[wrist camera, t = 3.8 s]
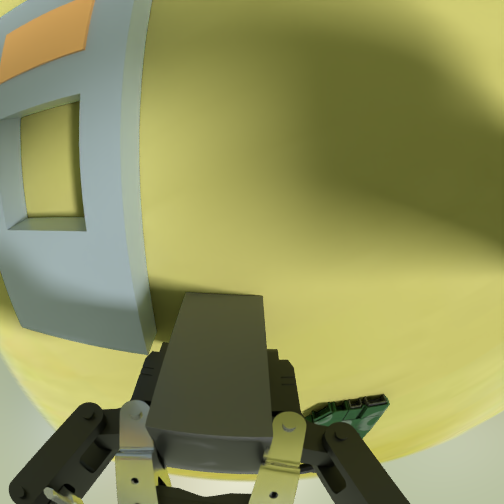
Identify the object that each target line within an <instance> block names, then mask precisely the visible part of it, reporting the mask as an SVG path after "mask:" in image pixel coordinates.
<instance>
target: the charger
mask: <svg viewBox="0 0 504 504" xmlns="http://www.w3.org/2000/svg"><path fill="white" fill-rule="evenodd" d="M145 427H146V429H147V431H148V433H149V435H150V437H153V439H154V440H155V443H156V448H157V450H158V452H159V453H160V455H161V457H164V459H165V461H166V465H167V467H172V468H179V469H186V470H194V471H203V472H215V473H231V474H258V472H259V469H260V466H261V462H262V459H263V456H264V452H265V449H266V447H271V443H272V440H273V426H272V412H271V398H270V384H269V371H268V358H267V345H266V332H265V319H264V307H263V296H250V295H228V294H210V293H193V292H186V293H185V296H184V299H183V302H182V305H181V308H180V311H179V314H178V317H177V320H176V323H175V326H174V329H173V332H172V335H171V338H170V341H169V344H168V348H167V351H166V354H165V357H164V361H163V364H162V367H161V370H160V374H159V377H158V381H157V384H156V387H155V391H154V394H153V398H152V401H151V405H150V409H149V412H148V416H147V420H146V424H145Z"/></svg>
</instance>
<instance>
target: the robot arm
mask: <svg viewBox="0 0 504 504" xmlns="http://www.w3.org/2000/svg"><path fill="white" fill-rule="evenodd" d="M168 344H169V343H167V342H163V343H162V346H161V349H160V352H154V351H152V352H151V353H150V354H149V355H148V356H147V357H146V359H145V362H144V364H143V368H142V370H141V373H140V375H139V378H138V381H137V384H136V387H135V390H134V392H133V395H132V398H131V400H130V401H128V402H126V403H125V404H124V405H123V406H122V407H121V408H118V409H105V410H102V409H101V408H100V406H98V405H97V404H95V403H91V402H88V403H84V404H82V405H80V406H79V407H78V408H77V409H76V410H75V411H74V412H73V413H72V414H71V415H70V417H69V418H68V419H67V420H66V421H65V422H64V423H63V424H62V425H61V426H60V427H59V429H58V430H57V431H56V432H55V433H54V434H53V435H52V436H51V437H50V439H49V440H48V441H47V442H46V443H45V444H44V445H43V446H42V447H41V449H40V450H39V451H38V452H37V453H36V454H35V455H34V456H33V458H32V459H31V460H30V461H29V462H28V463H27V464H26V466H25V467H24V468H23V469H22V470H21V471H20V472H19V473H18V475H17V476H16V477H15V478H14V479H13V480H12V482H11V483H10V485H9V494H10V496H11V498H12V500H13V501H14V502H15V503H16V504H84V503H83V501H82V500H81V499H82V498H83V496H84V495H85V494H86V492H87V491H88V490H89V489H90V487H91V486H92V485H93V483H94V482H95V481H96V479H97V478H98V477H99V476H100V474H101V473H102V472H103V470H104V469H105V468H106V466H107V465H108V464H109V462H110V461H111V460H112V459H113V457H114V456H115V468H116V486H117V498H118V504H293V503H294V498H295V494H296V490H297V484H298V480H299V475H300V467H299V465H300V463H305V464H310V465H312V467H313V468H314V470H315V472H316V473H317V475H318V477H319V478H320V480H321V482H322V483H323V485H324V487H325V488H326V490H327V492H328V493H329V495H330V496H331V498H332V500H333V501H334V503H335V504H410V503H409V501H408V500H407V499H406V498H405V496H404V495H403V494H402V492H401V491H400V490H399V488H398V487H397V486H396V484H395V483H394V482H393V480H392V479H391V478H390V476H389V475H388V474H387V472H386V471H385V469H384V468H383V467H382V465H381V464H380V463H379V461H378V460H377V459H376V457H375V456H374V455H373V453H372V452H371V450H370V449H369V448H368V446H367V445H366V444H365V442H364V441H363V439H362V438H361V437H360V435H359V434H358V433H357V431H356V430H355V428H354V427H353V426H352V425H350V424H348V423H345V422H335V423H333V424H331V425H329V426H323V425H318V424H314V423H311V422H309V421H308V420H306V419H305V418H304V417H303V415H302V413H301V410H300V404H299V398H298V392H297V385H296V379H295V373H294V368H293V366H292V365H291V363H290V362H289V361H288V360H279V357H278V350H277V349H267V358H268V371H269V384H270V398H271V412H272V426H273V440H272V443H271V447H266V449H265V452H264V456H263V459H262V462H261V466H260V469H259V472H258V475H257V479H256V482H255V485H254V489H253V491H252V494H233V493H230V494H225V495H218V496H209V497H202V496H199V495H196V494H193V493H191V492H188V491H185V490H182V489H180V488H173V487H171V482H170V479H169V476H168V472H167V466H166V461H165V459H164V457H161V455H160V453H159V452H158V450H157V448H156V443H155V440H154V439H153V437H150V435H149V433H148V431H147V429H146V427H145V424H146V420H147V416H148V412H149V409H150V405H151V401H152V398H153V394H154V391H155V387H156V384H157V381H158V377H159V374H160V370H161V367H162V364H163V361H164V357H165V354H166V351H167V348H168Z"/></svg>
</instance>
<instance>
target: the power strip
mask: <svg viewBox="0 0 504 504" xmlns="http://www.w3.org/2000/svg"><path fill="white" fill-rule="evenodd" d="M151 5H152V0H27V1H25V2H23V3H22V4H20V5H19V6H17V7H15V8H14V9H12V10H11V11H9V12H8V13H6V14H5V15H3V16H2V17H0V271H1V274H2V277H3V281H4V283H5V286H6V289H7V292H8V295H9V297H10V300H11V303H12V305H13V308H14V310H15V313H16V315H17V317H18V320H19V322H20V324H21V326H22V327H23V328H27V329H30V330H33V331H37V332H40V333H44V334H47V335H51V336H55V337H59V338H63V339H67V340H71V341H75V342H79V343H84V344H88V345H93V346H98V347H103V348H108V349H114V350H119V351H125V352H131V353H138V354H144V355H148V354H149V351H150V349H151V346H152V343H153V341H154V338H155V335H156V333H157V330H156V324H155V319H154V313H153V307H152V301H151V295H150V288H149V281H148V273H147V266H146V257H145V248H144V238H143V227H142V214H141V198H140V174H139V120H140V97H141V82H142V70H143V60H144V51H145V43H146V35H147V28H148V22H149V16H150V10H151ZM78 101H80V113H79V154H80V174H81V187H82V198H83V207H84V215H85V217H44V218H28V216H27V210H26V203H25V196H24V188H23V178H22V165H21V144H20V120H21V118H22V117H24V116H27V115H30V114H34V113H37V112H40V111H43V110H47V109H50V108H54V107H57V106H61V105H65V104H69V103H73V102H78Z"/></svg>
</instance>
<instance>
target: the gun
mask: <svg viewBox="0 0 504 504" xmlns="http://www.w3.org/2000/svg"><path fill="white" fill-rule="evenodd" d="M389 405H390V403H389V401H388V398H387V397H386V396H385V395H384V394H383V395H382V396H381V398H380V399H374V400H367V398H366V397H365V398H364V399H363V401H362V402H361V399H360V398H359V399H358V401H357V402H356V403H355V404H351V403H350V400H347V401H344V403H343V405H342V406H338V407H336V406H335V402H332V403H329V402H328V407H327V408H325V409H323V410H321V411H319V412H317V413H316V412H314V411H312V415H309V416H307V417H305V419H306V420H308V421H309V422H311V423H314V424H318V425H323V426H329V425H331V424H333V423H335V422H345V423H348V424H350V425H352V426H353V427H354V428H355V430H356V431H357V433H358V434H359V435H360V437H361V438H362V439H363V437H364V436H365V435H366V434H367V433H368V432H369V431H370V430H371V428H372V427H373V426H374V425H375V423H376V422H377V421H378V420H379V418H380V417H381V416H382V414H383V413H384V412H385V410H386V409H387V407H388V406H389ZM299 467H300V474H304V473H309V472H313V473H316V472H315V470H314V468H313V467H312V465H310V464H302V465H299Z"/></svg>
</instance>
